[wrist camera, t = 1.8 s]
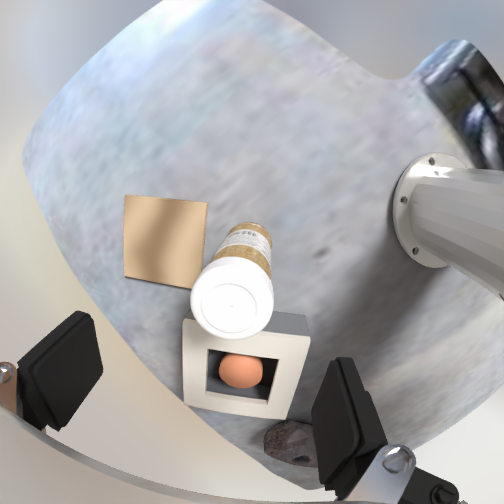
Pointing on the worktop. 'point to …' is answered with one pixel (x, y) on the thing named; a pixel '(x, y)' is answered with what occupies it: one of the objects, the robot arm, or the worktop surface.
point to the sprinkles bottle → (236, 285)
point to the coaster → (164, 239)
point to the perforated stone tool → (292, 443)
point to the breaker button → (241, 370)
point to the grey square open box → (262, 345)
